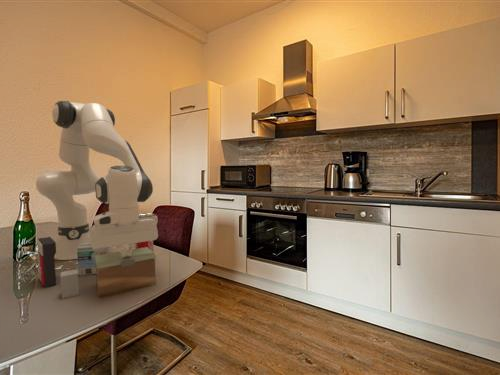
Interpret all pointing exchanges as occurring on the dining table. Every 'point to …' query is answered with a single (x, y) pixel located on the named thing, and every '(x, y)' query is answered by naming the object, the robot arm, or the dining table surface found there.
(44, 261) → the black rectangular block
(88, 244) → the light bulb box
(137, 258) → the lid
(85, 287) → the dining table surface
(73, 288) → the block
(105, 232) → the robot arm
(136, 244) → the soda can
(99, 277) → the storage box
